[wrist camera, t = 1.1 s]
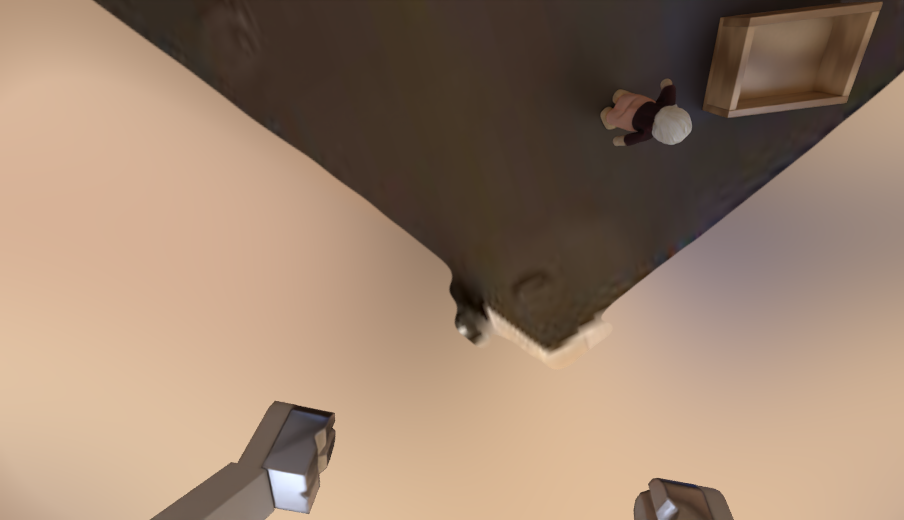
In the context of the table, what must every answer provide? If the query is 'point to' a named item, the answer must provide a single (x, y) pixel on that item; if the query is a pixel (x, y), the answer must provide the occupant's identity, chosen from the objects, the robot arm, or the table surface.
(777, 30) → the holder
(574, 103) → the table surface
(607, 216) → the table surface
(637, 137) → the grandmother figurine
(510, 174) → the table surface
